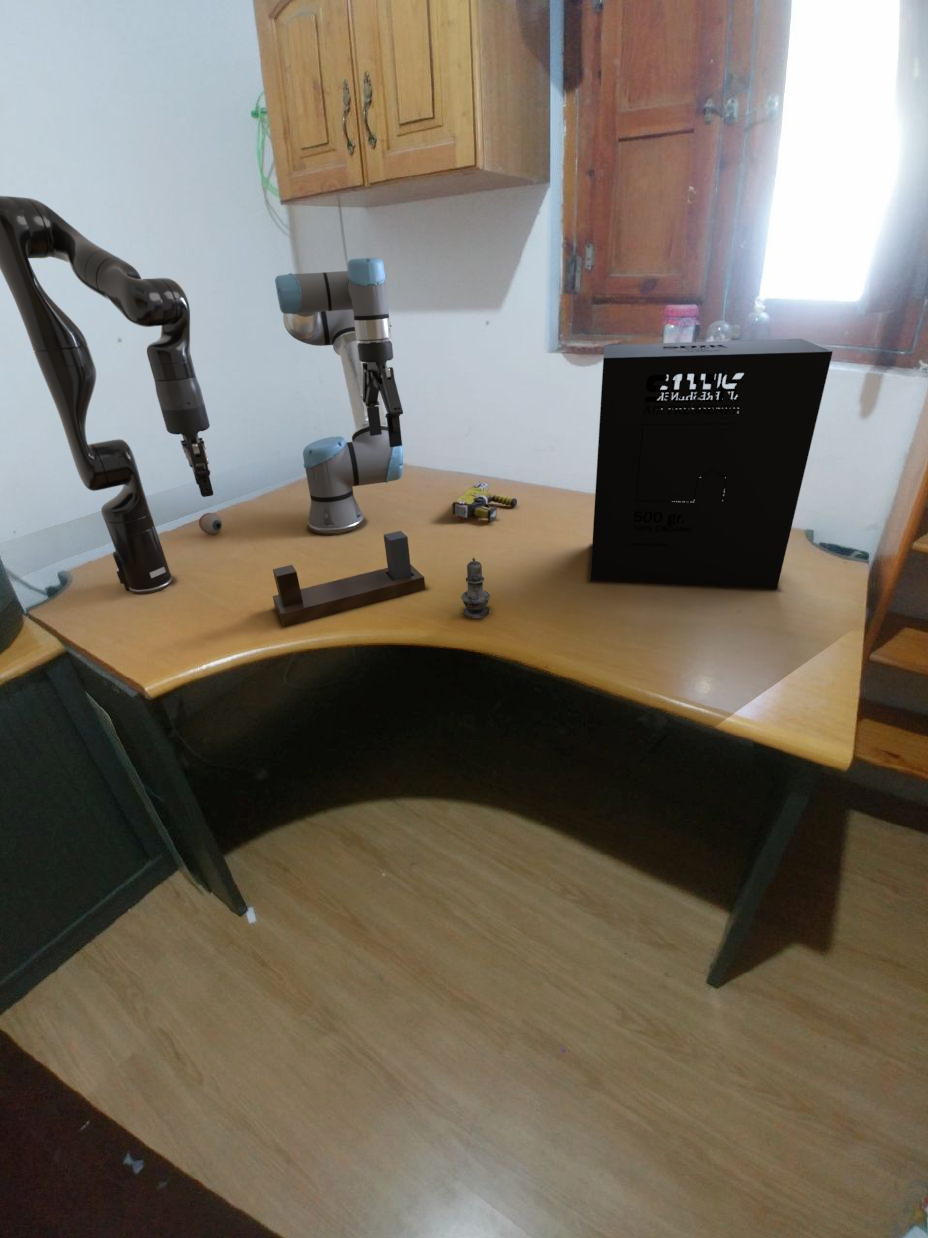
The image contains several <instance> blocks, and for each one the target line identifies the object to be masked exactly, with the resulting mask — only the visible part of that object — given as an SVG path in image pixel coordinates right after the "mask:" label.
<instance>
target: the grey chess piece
mask: <svg viewBox="0 0 928 1238" xmlns="http://www.w3.org/2000/svg"><path fill="white" fill-rule="evenodd" d="M471 560H472V561H471ZM471 560H470V562H468V563H467V565H466V574H467V575H466V576H467V577H466V578H465V582H466V583H467V589H466V591H464V592H463V593H462V594H461V596H460V599H461V600H462V602H463V605H464V606H465V608H464V609H463V615H464V616H465V617H467V618H469V619H481V618H485V617H487V616H488V615H489V614H490V609H489V608H488V607H487V606H488V604H489V602H490V599H491V594H490V592H489V591H487V590H484V581H485V577H484V576H483V566H482V563H481V562H480V561H477V560H476V557H473V558H472V559H471Z"/></svg>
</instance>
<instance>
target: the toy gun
mask: <svg viewBox="0 0 928 1238" xmlns="http://www.w3.org/2000/svg"><path fill="white" fill-rule="evenodd" d="M489 485H490V484H489V482H487V481H484V482H483V481H482V480H480V481H478V483H476V484H475V485H474V486H473V485H472V486H471V487H470V488H469V489H468V490H466V491H465V492H464V493H463V494H462V495H460V497H458V498H457V499H456V500H454V502H453V503H452V504H451V515H452V516H453V517H456V518H457V519H460V520H463V519H471V518H476V517H481V518H484V519H487V522H488V523H490V522H492V521H494V520H496V519H497V515H498V514H497V513H498V506H495V505H494V506H492V507H491V506H490V505H489V504H490V503H492V502H493V503H495V504H496V503H498V504H501V505H505V506H509V507H512V508H515V507H516V506H517V505H518V499H517V498H516V497H509V496H504V495H499V494H497V493H496V494H494V495H491V493H490V492H489V490H487V489H488V488H489Z"/></svg>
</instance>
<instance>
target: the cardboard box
mask: <svg viewBox="0 0 928 1238" xmlns="http://www.w3.org/2000/svg"><path fill="white" fill-rule="evenodd" d="M833 353H834V352H833V350H830V349H827V348H826V347H825V348H824V347H822V346H821V345H818V344H815V343H813V342H810V341H808V340H805V339H802V338H783V339H782V338H781V339H779V338H777V339H776V338H775V339H749V340H747V339H746V340H723V341H722V340H720V341H719V340H718V341H689V342H687V341H685V342H683V341H682V342H657V343H654V342H653V343H627V344H625V343H624V344H623V343H621V344H604V345H603V359H602V362H603V363H602V375H601V389H600V390H601V392H600V409H599V424H598V425H599V426H598V427H599V428H598V442H597V457H596V458H597V459H596V460H597V461H596V475H595V493H594V496H595V497H594V508H593V509H594V510H593V525H592V527H593V528H592V541H591V557H590V558H591V560H590V575H589V576H590V577H589V580H590V582H603V583H622V584H623V583H625V584H626V583H628V584H645V585H647V584H648V585H669V586H670V585H671V586H693V587H712V588H714V587H715V588H734V589H735V588H737V589H755V590H757V589H758V590H759V589H760V590H778V586H779V582H780V577H781V574H782V570H783V565H784V561H785V556H786V553H787V548H788V543H789V539H790V536H791V531H792V526H793V522H794V519H795V513H796V510H797V505H798V501H799V497H800V493H801V489H802V484H803V480H804V476H805V471H806V467H807V464H808V463H807V462H808V458H809V455H810V450H811V446H812V442H813V437H814V434H815V430H816V425H817V421H818V417H819V411H820V407H821V404H822V400H823V399H822V398H823V394H824V390H825V386H826V381H827V378H828V374H829V369H830V366H831V360H832V356H833ZM738 374H742V376H741V377H740V378H735V376H736V375H738ZM678 375H681V379H680V380H679V384H678V388H675V385H676V379H675V377H676V376H678ZM689 375H693V380H692V381H691V379H688V376H689ZM702 375H704V379H702ZM719 378H720V382H719ZM724 378H725V382H724ZM723 382H724V385H730V384H731V385H734V388H725V387H724V386H723ZM691 383H692V385H695V388H691ZM705 385H710V388H704V386H705ZM662 387H666V389H662Z"/></svg>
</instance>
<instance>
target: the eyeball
mask: <svg viewBox="0 0 928 1238" xmlns="http://www.w3.org/2000/svg"><path fill="white" fill-rule="evenodd" d="M198 526H199V528H200V530H201V531H202V532H203V533H204V534H206V535H212V536H214V535H216V534H218V533H220V532H221V531H222V529H223V520H222V518H221V517H220V515H218V514H217V513H214V512H206V513H203V515H201V516H200V517H199V520H198Z"/></svg>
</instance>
